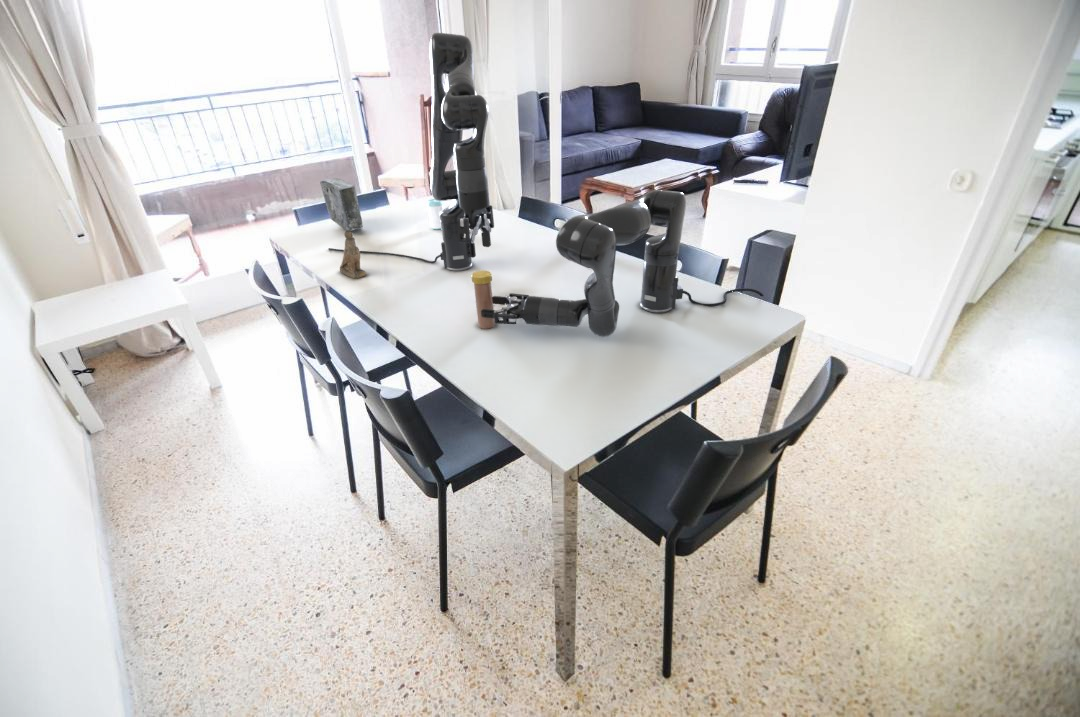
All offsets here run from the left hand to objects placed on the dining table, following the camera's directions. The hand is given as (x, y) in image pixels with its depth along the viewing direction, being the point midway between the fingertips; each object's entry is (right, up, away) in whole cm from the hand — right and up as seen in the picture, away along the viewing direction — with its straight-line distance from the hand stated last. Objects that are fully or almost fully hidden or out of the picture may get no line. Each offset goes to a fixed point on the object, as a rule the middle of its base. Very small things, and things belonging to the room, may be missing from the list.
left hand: (479, 251), depth 130 cm
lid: (0, -6, +3) cm, 7 cm away
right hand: (+1, -14, +8) cm, 16 cm away
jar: (+1, -18, +11) cm, 22 cm away
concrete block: (-72, +32, +97) cm, 125 cm away
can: (-30, +31, +94) cm, 103 cm away
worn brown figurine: (-51, +3, +49) cm, 71 cm away
